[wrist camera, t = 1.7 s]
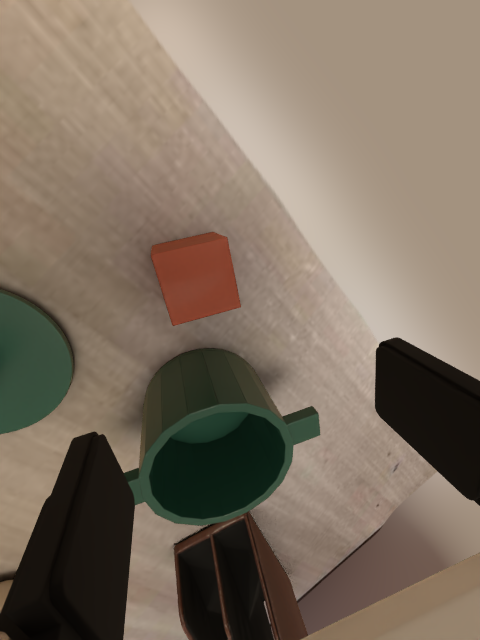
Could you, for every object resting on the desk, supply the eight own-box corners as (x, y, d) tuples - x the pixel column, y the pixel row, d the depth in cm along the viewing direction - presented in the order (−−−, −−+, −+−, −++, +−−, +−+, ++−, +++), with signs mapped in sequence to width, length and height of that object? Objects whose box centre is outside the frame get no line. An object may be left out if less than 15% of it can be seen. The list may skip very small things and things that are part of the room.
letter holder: (245, 504, 36) (295, 667, 23) (288, 576, 44) (341, 723, 31) (172, 544, 35) (181, 737, 22) (230, 609, 43) (261, 776, 30)
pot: (95, 378, 25) (68, 454, 17) (274, 325, 28) (319, 370, 20) (138, 468, 29) (131, 560, 22) (287, 415, 32) (328, 479, 25)
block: (151, 245, 22) (150, 254, 18) (213, 231, 23) (227, 237, 18) (169, 304, 24) (172, 326, 20) (226, 289, 25) (241, 307, 21)
